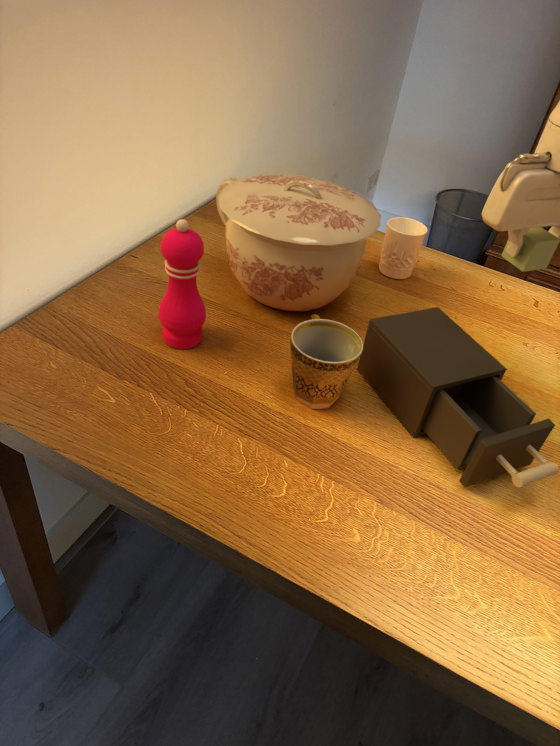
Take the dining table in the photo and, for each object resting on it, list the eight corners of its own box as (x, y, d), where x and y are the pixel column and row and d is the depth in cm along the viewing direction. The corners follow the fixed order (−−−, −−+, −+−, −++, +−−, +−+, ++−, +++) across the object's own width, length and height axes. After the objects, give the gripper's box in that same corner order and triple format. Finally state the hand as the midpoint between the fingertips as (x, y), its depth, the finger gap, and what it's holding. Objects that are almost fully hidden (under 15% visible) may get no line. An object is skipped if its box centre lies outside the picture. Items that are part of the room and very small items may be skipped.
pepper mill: (192, 356, 84) (194, 237, 71) (150, 342, 85) (145, 223, 72) (212, 332, 89) (218, 216, 76) (173, 319, 90) (171, 204, 77)
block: (523, 253, 80) (536, 224, 77) (546, 268, 77) (560, 239, 74) (500, 256, 78) (513, 227, 75) (522, 272, 75) (536, 242, 72)
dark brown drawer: (555, 491, 70) (584, 451, 65) (489, 517, 66) (514, 476, 61) (461, 394, 83) (479, 354, 78) (400, 411, 78) (415, 369, 73)
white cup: (410, 285, 108) (425, 239, 102) (372, 274, 110) (384, 228, 103) (415, 267, 114) (429, 223, 108) (379, 258, 116) (391, 213, 109)
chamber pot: (383, 329, 95) (415, 218, 82) (228, 338, 88) (236, 218, 75) (333, 251, 115) (352, 152, 102) (203, 253, 108) (206, 147, 95)
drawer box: (482, 418, 80) (507, 368, 74) (413, 438, 76) (433, 387, 69) (420, 354, 91) (437, 306, 85) (356, 368, 86) (370, 318, 80)
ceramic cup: (356, 416, 78) (372, 362, 71) (288, 419, 76) (298, 363, 69) (334, 359, 87) (347, 306, 81) (273, 360, 85) (281, 306, 79)
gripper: (531, 164, 61) (486, 271, 70) (649, 158, 69) (595, 256, 78) (494, 144, 66) (456, 248, 74) (609, 141, 73) (562, 235, 82)
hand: (528, 252), depth 76 cm, fingers closed on block, 4 cm apart
